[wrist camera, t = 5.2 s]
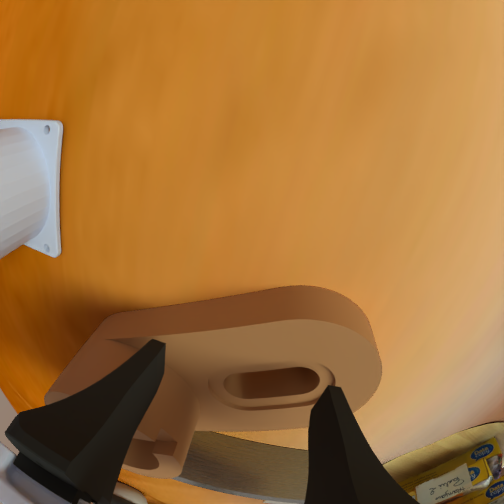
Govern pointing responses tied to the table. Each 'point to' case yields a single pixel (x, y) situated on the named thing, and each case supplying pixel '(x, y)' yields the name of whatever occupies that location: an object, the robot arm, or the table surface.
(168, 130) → the table surface
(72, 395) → the robot arm
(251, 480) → the bar
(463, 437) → the stacked boxes on plate
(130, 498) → the grey white egg device
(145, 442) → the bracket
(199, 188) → the table surface
